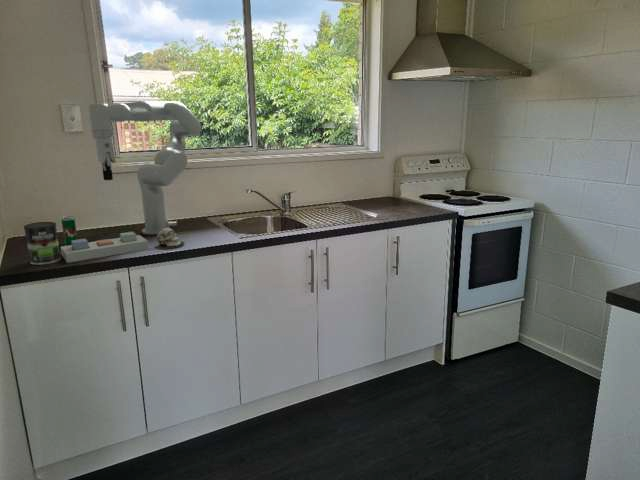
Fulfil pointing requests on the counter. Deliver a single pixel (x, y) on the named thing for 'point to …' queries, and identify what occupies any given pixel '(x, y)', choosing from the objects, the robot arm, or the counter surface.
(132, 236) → the sage key
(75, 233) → the soda can
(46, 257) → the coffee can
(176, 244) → the skull
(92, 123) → the robot arm
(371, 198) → the counter surface
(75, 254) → the keypad housing
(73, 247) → the slate key
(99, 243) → the terracotta key
